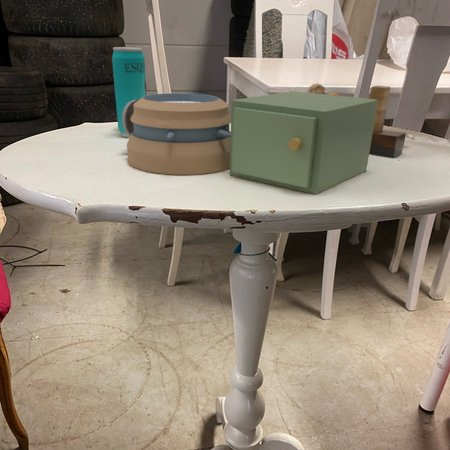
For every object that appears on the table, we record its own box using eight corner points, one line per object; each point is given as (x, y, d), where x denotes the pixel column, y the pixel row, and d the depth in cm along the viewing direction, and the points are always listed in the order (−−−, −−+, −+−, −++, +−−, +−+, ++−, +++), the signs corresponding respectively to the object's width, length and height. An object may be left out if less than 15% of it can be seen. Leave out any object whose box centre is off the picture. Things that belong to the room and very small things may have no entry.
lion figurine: (319, 132, 98) (324, 85, 93) (296, 129, 100) (300, 83, 96) (347, 123, 108) (353, 80, 104) (325, 120, 111) (331, 78, 106)
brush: (402, 153, 82) (415, 88, 77) (393, 158, 79) (406, 90, 73) (348, 145, 87) (358, 83, 82) (338, 149, 84) (347, 85, 79)
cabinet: (366, 170, 71) (378, 99, 66) (309, 197, 59) (319, 113, 54) (287, 156, 78) (292, 91, 73) (222, 177, 66) (223, 101, 61)
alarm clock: (137, 107, 60) (106, 88, 78) (142, 179, 64) (112, 145, 83) (258, 103, 65) (202, 86, 84) (254, 170, 70) (202, 140, 88)
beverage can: (153, 137, 90) (149, 48, 82) (125, 139, 87) (118, 48, 80) (141, 131, 94) (136, 47, 86) (114, 134, 91) (106, 47, 84)
